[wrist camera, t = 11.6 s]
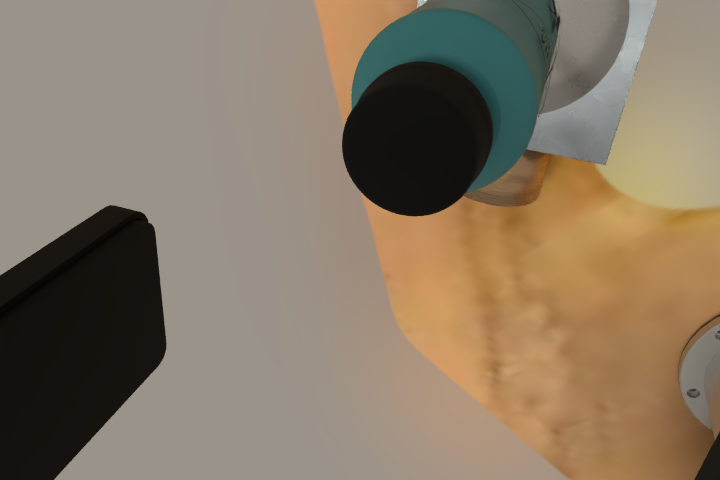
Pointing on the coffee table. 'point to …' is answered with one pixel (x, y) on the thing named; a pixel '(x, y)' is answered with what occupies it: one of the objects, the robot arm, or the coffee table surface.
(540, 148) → the motor housing
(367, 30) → the coffee table surface
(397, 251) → the coffee table surface
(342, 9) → the coffee table surface
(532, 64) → the beverage bottle
